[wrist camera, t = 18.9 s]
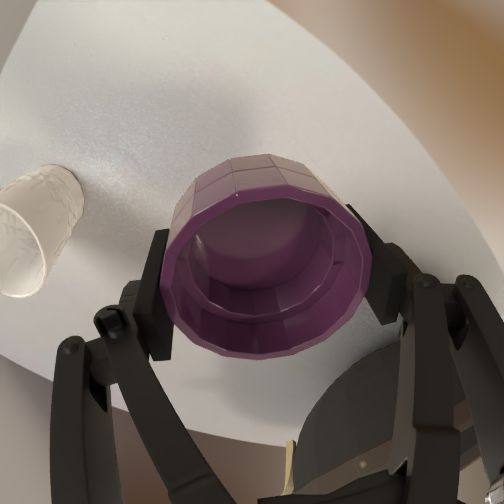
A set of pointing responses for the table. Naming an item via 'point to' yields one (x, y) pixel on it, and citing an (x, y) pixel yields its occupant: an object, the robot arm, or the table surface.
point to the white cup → (36, 226)
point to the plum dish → (262, 259)
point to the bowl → (361, 427)
